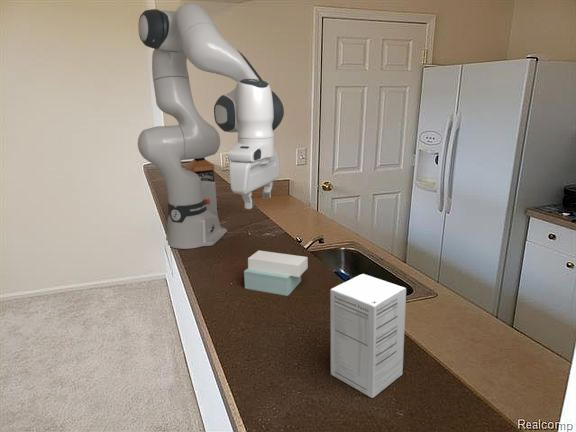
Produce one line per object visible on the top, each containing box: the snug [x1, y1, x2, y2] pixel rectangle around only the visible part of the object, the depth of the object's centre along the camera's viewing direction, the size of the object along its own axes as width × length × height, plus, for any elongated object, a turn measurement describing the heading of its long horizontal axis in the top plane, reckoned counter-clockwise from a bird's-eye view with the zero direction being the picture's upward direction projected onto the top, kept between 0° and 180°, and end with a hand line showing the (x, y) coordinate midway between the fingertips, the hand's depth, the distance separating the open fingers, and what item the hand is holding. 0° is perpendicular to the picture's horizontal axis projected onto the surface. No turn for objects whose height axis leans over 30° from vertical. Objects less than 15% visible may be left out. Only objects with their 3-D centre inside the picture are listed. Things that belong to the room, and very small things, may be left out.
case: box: [243, 267, 302, 297], centre depth 112 cm, size 9×12×5 cm
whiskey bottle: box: [185, 157, 219, 209], centre depth 181 cm, size 10×10×32 cm
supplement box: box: [329, 273, 407, 399], centre depth 74 cm, size 10×9×17 cm
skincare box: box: [201, 181, 219, 218], centre depth 166 cm, size 8×7×16 cm
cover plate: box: [247, 250, 309, 277], centre depth 110 cm, size 6×14×3 cm, turn 67°
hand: (258, 203), depth 109 cm, fingers open, 8 cm apart
